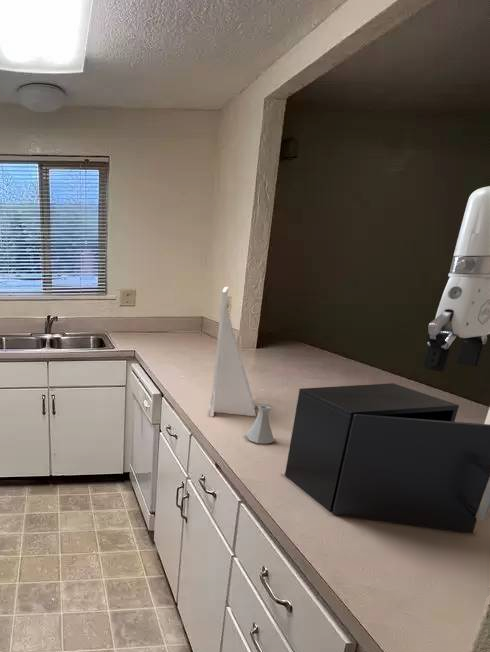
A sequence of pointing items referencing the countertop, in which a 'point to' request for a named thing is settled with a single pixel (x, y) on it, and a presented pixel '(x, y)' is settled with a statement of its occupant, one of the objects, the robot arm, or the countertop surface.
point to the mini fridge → (346, 428)
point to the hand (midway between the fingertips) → (450, 367)
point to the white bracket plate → (229, 371)
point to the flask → (261, 427)
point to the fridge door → (416, 472)
